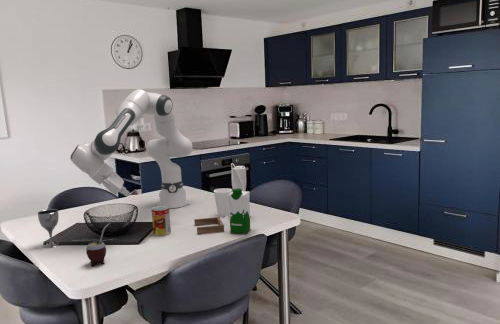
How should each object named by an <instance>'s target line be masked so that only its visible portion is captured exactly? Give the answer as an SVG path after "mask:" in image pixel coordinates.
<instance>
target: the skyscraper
mask: <svg viewBox="0 0 500 324" xmlns="http://www.w3.org/2000/svg"><path fill="white" fill-rule="evenodd" d="M230 167H231V186H232V188H231V189H232V190H233V189H242V191H246V188H247V169H246V167H245V165H235V164H234V163H230Z"/></svg>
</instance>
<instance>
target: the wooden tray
mask: <svg viewBox="0 0 500 324" xmlns="http://www.w3.org/2000/svg"><path fill="white" fill-rule="evenodd" d="M193 221H194V226H195V227H196V234H197V236H198V235H206V234H216V233H224V232H225V225H224V222H223V221H222V219H221V216H215V217H214V216H213V217H205V218H194V220H193Z"/></svg>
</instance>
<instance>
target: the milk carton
mask: <svg viewBox="0 0 500 324" xmlns="http://www.w3.org/2000/svg"><path fill="white" fill-rule="evenodd" d="M250 194H251V193H250V191H248V190H247V191H246V190H245V191H242V189H233V188H232V192H231V193H230V194H228V198H229V228H230V229H229V230H230V234H237V235H246V234H248V232H249V231H250V230H251V210H250Z"/></svg>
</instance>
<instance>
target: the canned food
mask: <svg viewBox="0 0 500 324" xmlns="http://www.w3.org/2000/svg"><path fill="white" fill-rule="evenodd" d="M151 221H152V234H153V235H154V236H156V237H165V236H168V235H170V234H171V231H172V229H171V216H170V208H169V207H168V206H157V205H156V206H153V207H151Z"/></svg>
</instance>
